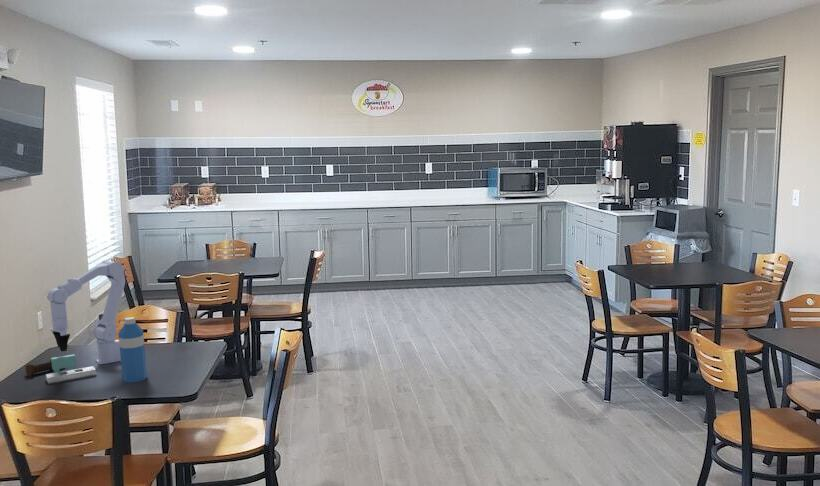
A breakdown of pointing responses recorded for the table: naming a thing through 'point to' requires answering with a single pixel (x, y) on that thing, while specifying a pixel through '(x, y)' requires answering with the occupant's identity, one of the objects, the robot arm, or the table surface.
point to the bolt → (38, 368)
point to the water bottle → (132, 351)
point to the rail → (70, 375)
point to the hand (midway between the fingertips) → (62, 348)
